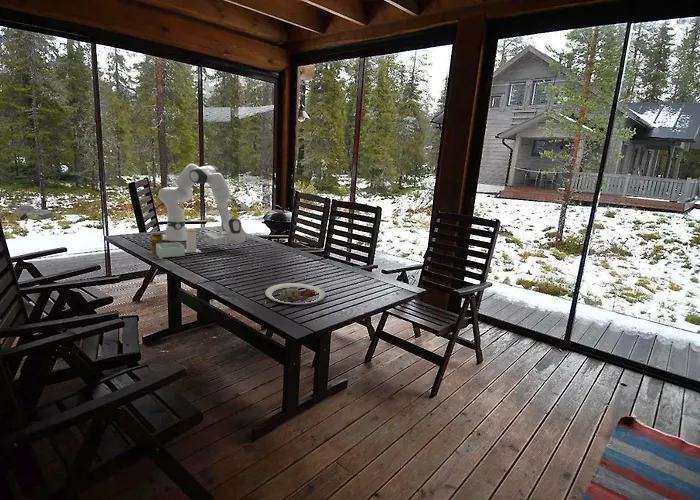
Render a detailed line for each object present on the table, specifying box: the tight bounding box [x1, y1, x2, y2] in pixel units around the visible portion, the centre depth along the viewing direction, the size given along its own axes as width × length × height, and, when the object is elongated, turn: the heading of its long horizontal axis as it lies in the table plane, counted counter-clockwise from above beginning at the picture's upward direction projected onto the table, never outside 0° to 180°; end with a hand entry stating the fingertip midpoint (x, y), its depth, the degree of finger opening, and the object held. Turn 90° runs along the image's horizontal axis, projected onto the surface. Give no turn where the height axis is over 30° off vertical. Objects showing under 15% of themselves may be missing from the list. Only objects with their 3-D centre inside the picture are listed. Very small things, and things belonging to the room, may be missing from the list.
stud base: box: [185, 247, 202, 254], centre depth 257 cm, size 10×10×8 cm
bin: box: [155, 241, 186, 260], centre depth 245 cm, size 14×14×7 cm
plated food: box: [264, 282, 326, 305], centre depth 196 cm, size 30×30×3 cm
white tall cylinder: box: [185, 228, 197, 253], centre depth 256 cm, size 5×5×14 cm
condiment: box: [150, 232, 163, 254], centre depth 252 cm, size 7×8×12 cm
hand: (202, 238), depth 260 cm, fingers open, 8 cm apart
